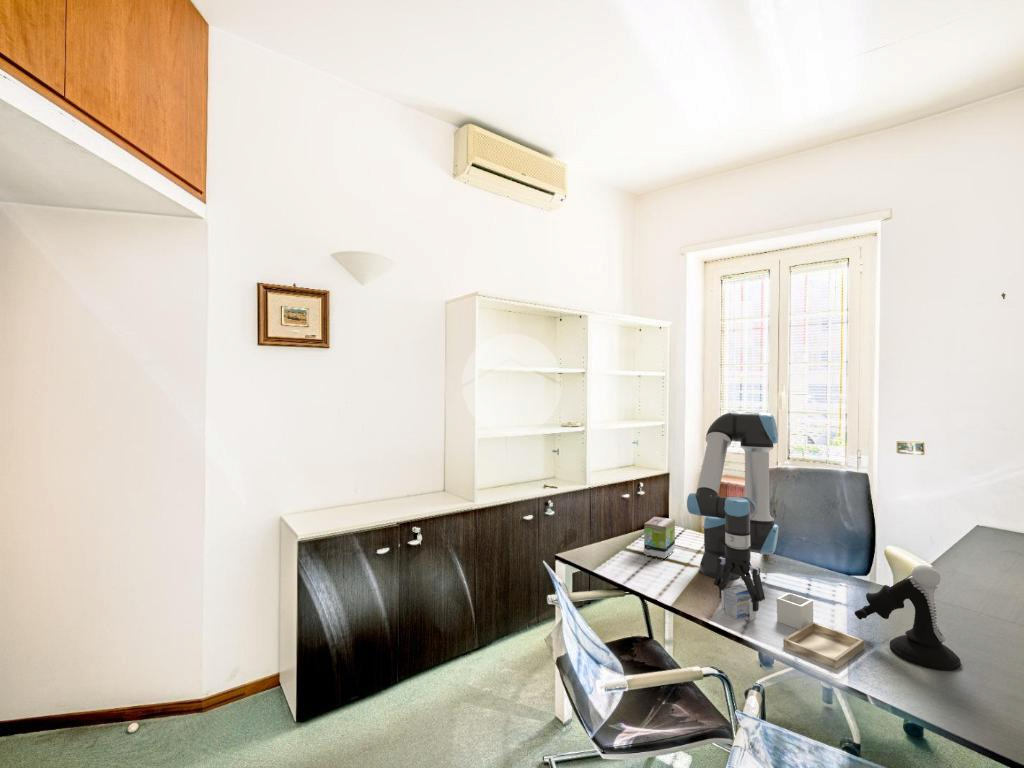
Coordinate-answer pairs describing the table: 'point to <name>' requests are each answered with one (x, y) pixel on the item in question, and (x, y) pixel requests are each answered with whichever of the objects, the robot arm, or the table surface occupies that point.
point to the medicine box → (737, 601)
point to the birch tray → (824, 644)
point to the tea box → (659, 537)
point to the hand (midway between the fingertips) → (738, 614)
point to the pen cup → (794, 610)
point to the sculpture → (915, 620)
